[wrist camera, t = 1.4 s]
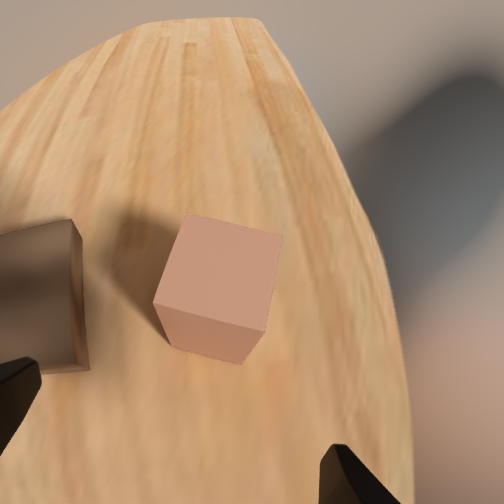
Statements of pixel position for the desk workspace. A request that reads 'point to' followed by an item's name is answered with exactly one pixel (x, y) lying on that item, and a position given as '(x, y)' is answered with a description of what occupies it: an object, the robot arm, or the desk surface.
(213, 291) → the terracotta block
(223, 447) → the desk surface
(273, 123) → the desk surface
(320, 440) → the desk surface
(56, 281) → the walnut plinth
